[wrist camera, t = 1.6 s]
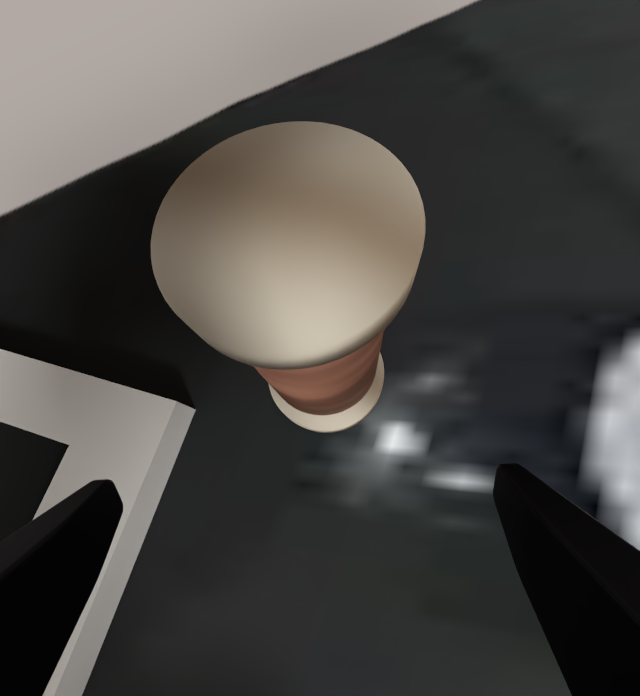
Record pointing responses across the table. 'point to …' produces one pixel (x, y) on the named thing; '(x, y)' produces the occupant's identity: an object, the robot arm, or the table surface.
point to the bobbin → (294, 261)
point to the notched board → (96, 474)
